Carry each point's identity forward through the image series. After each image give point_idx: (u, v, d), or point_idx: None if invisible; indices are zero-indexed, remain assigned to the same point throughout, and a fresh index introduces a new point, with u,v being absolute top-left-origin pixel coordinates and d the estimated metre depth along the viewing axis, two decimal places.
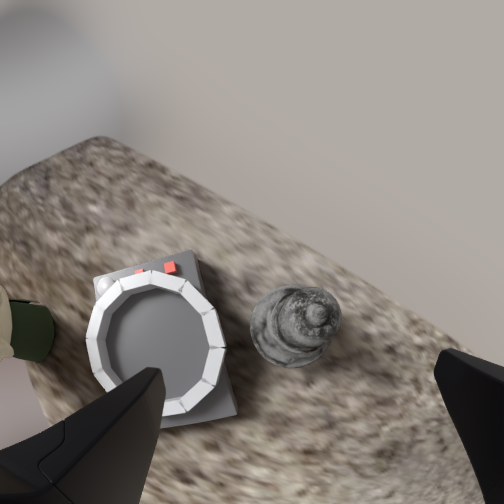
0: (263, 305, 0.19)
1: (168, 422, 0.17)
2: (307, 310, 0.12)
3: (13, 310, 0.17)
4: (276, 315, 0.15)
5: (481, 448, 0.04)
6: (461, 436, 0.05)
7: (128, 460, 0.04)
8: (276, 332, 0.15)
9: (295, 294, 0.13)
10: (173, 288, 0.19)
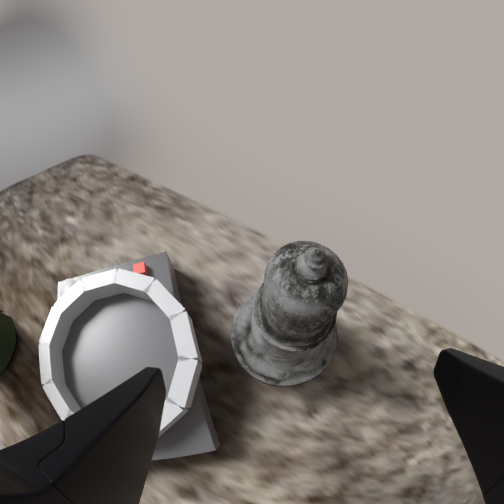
0: (247, 307, 0.15)
1: None
2: (297, 261, 0.08)
3: None
4: (259, 300, 0.12)
5: (481, 448, 0.04)
6: (460, 437, 0.05)
7: (128, 460, 0.04)
8: (260, 322, 0.11)
9: (280, 248, 0.09)
10: (139, 287, 0.16)
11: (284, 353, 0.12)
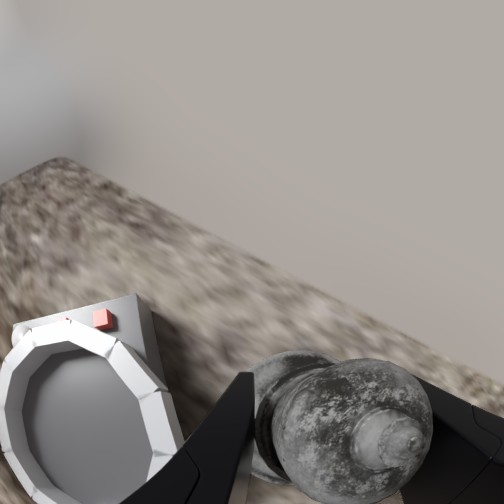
0: None
1: None
2: (356, 434, 0.03)
3: None
4: (266, 418, 0.06)
5: (410, 480, 0.04)
6: None
7: (246, 473, 0.05)
8: (267, 452, 0.06)
9: (315, 384, 0.04)
10: (97, 350, 0.10)
11: None
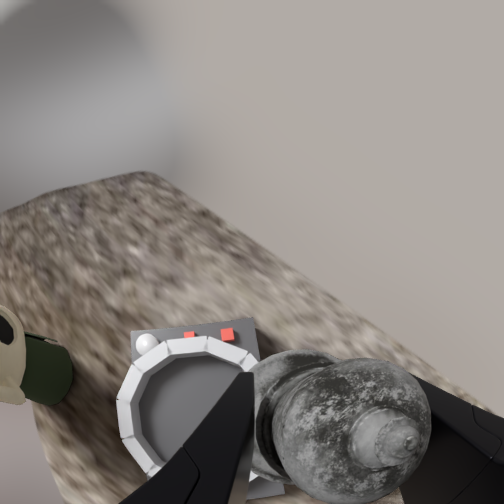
0: None
1: None
2: (354, 433, 0.03)
3: (28, 347, 0.14)
4: (267, 417, 0.06)
5: (410, 480, 0.04)
6: None
7: (246, 473, 0.05)
8: (268, 451, 0.06)
9: (314, 384, 0.04)
10: (232, 359, 0.16)
11: None
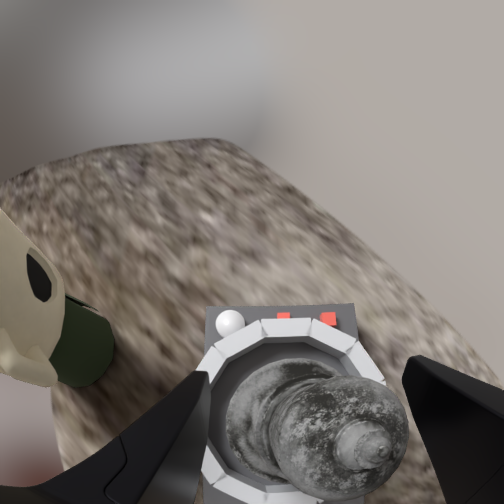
0: (246, 392, 0.11)
1: None
2: (338, 440, 0.04)
3: (64, 311, 0.13)
4: (265, 423, 0.07)
5: (448, 465, 0.04)
6: (427, 451, 0.05)
7: (187, 470, 0.05)
8: (266, 453, 0.06)
9: (305, 398, 0.05)
10: (339, 347, 0.14)
11: None
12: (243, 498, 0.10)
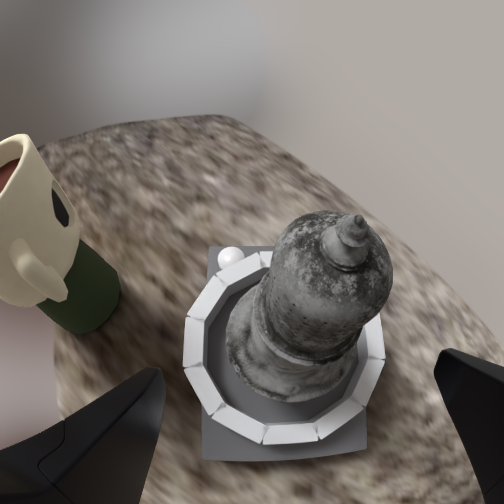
0: (246, 305, 0.12)
1: (273, 454, 0.12)
2: (323, 237, 0.05)
3: (77, 248, 0.15)
4: (262, 296, 0.08)
5: (481, 448, 0.04)
6: (460, 437, 0.05)
7: (128, 460, 0.04)
8: (263, 327, 0.08)
9: (294, 221, 0.06)
10: None
11: (294, 364, 0.09)
12: (242, 431, 0.11)
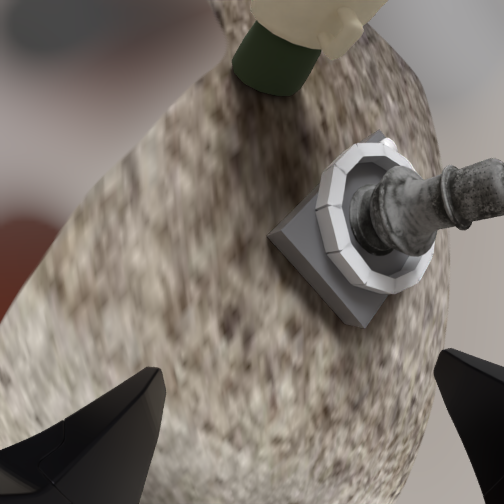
0: (405, 171, 0.15)
1: (325, 271, 0.17)
2: None
3: None
4: (451, 170, 0.12)
5: (481, 448, 0.04)
6: (461, 436, 0.05)
7: (128, 460, 0.04)
8: (446, 180, 0.11)
9: (498, 160, 0.09)
10: None
11: (422, 215, 0.13)
12: (337, 232, 0.16)
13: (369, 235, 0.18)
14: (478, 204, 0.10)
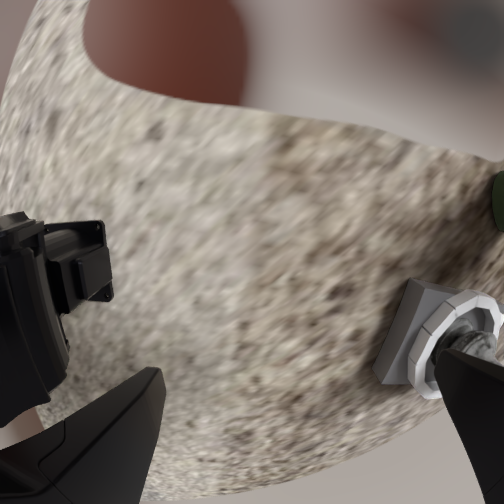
0: (494, 343, 0.16)
1: (410, 333, 0.19)
2: None
3: None
4: None
5: (481, 448, 0.04)
6: (461, 436, 0.05)
7: (128, 460, 0.04)
8: None
9: None
10: None
11: None
12: (441, 325, 0.17)
13: (443, 346, 0.19)
14: None
